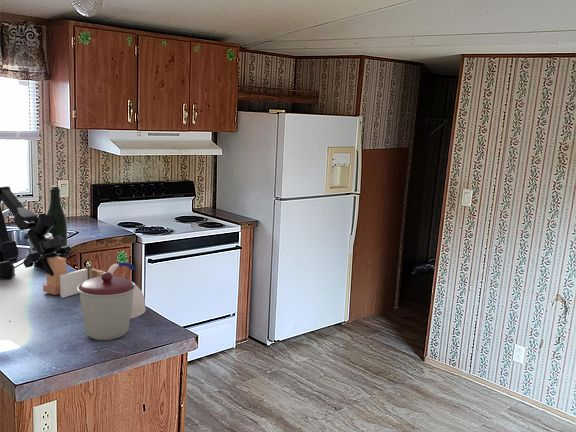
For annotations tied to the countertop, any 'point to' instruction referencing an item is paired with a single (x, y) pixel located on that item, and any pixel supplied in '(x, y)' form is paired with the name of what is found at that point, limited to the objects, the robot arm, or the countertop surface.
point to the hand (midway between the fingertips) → (58, 274)
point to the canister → (106, 306)
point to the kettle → (138, 297)
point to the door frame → (93, 272)
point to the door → (72, 282)
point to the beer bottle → (57, 216)
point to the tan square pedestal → (55, 275)
